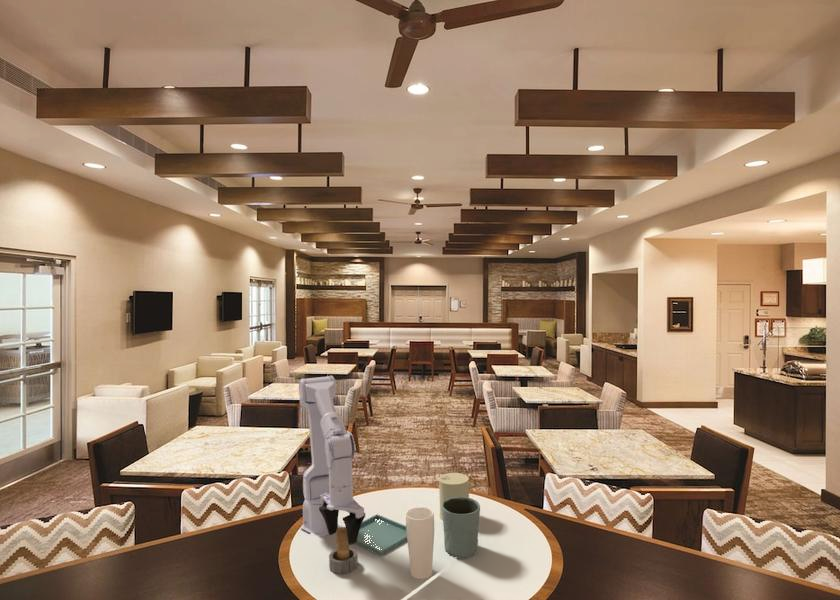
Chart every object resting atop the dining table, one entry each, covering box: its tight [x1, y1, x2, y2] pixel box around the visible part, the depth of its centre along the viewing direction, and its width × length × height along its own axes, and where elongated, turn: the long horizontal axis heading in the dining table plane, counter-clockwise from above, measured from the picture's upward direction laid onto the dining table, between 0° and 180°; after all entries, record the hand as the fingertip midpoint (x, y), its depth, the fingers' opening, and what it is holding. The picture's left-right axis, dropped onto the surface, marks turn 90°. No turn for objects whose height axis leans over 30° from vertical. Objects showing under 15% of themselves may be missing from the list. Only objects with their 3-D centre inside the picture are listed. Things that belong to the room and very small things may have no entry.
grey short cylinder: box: [328, 547, 359, 575], centre depth 121 cm, size 7×7×3 cm
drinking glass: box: [405, 506, 435, 580], centre depth 117 cm, size 7×7×15 cm
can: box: [438, 472, 470, 521], centre depth 147 cm, size 9×9×12 cm
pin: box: [335, 526, 350, 561], centre depth 121 cm, size 3×3×9 cm
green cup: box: [442, 497, 481, 559], centre depth 128 cm, size 10×10×12 cm
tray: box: [354, 513, 408, 556], centre depth 136 cm, size 16×14×2 cm
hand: (342, 538), depth 121 cm, fingers open, 7 cm apart
